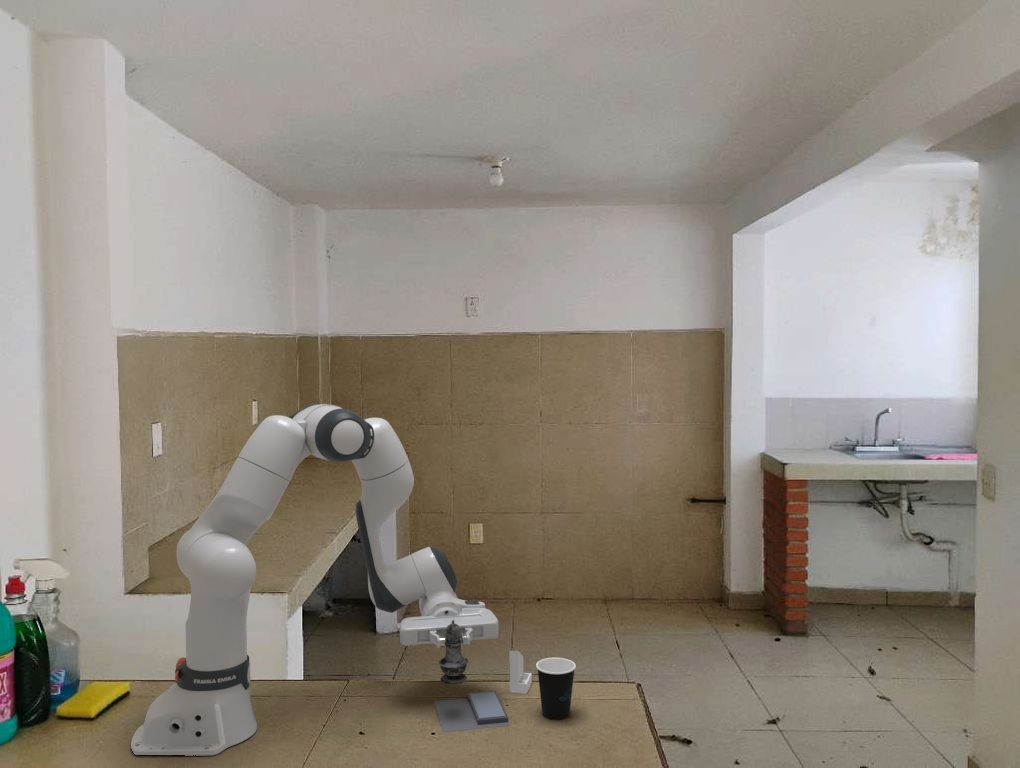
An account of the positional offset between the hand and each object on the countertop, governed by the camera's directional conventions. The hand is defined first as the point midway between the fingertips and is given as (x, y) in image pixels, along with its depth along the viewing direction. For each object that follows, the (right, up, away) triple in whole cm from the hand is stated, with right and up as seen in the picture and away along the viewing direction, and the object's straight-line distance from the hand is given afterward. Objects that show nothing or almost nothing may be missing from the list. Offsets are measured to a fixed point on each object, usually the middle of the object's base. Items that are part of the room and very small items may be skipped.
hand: (453, 642), depth 168 cm
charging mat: (+3, -16, +2) cm, 16 cm away
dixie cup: (+20, -16, +2) cm, 26 cm away
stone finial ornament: (0, -8, +1) cm, 8 cm away
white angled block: (+13, -15, +15) cm, 25 cm away
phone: (+6, -15, +4) cm, 16 cm away
